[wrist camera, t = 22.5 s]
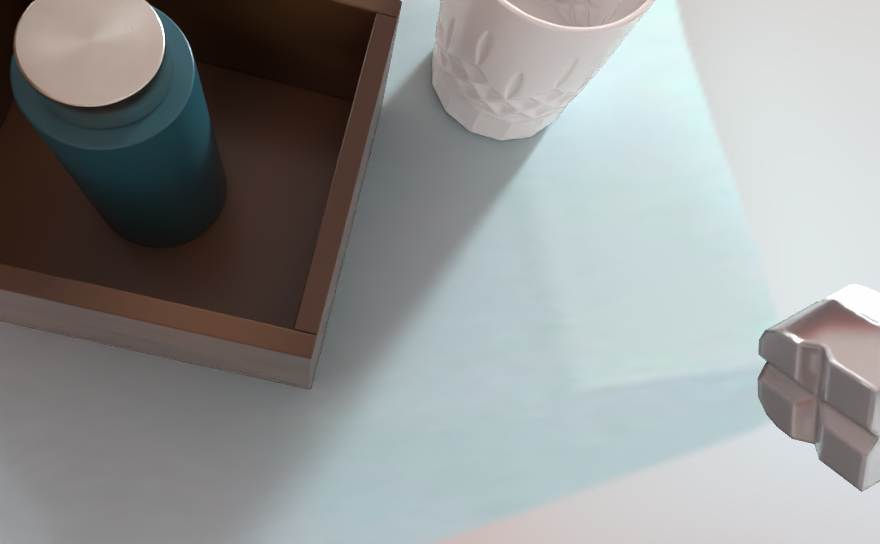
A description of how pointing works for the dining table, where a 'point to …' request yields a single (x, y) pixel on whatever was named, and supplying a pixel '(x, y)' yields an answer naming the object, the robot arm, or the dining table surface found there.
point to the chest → (246, 204)
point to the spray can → (122, 114)
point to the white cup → (523, 58)
